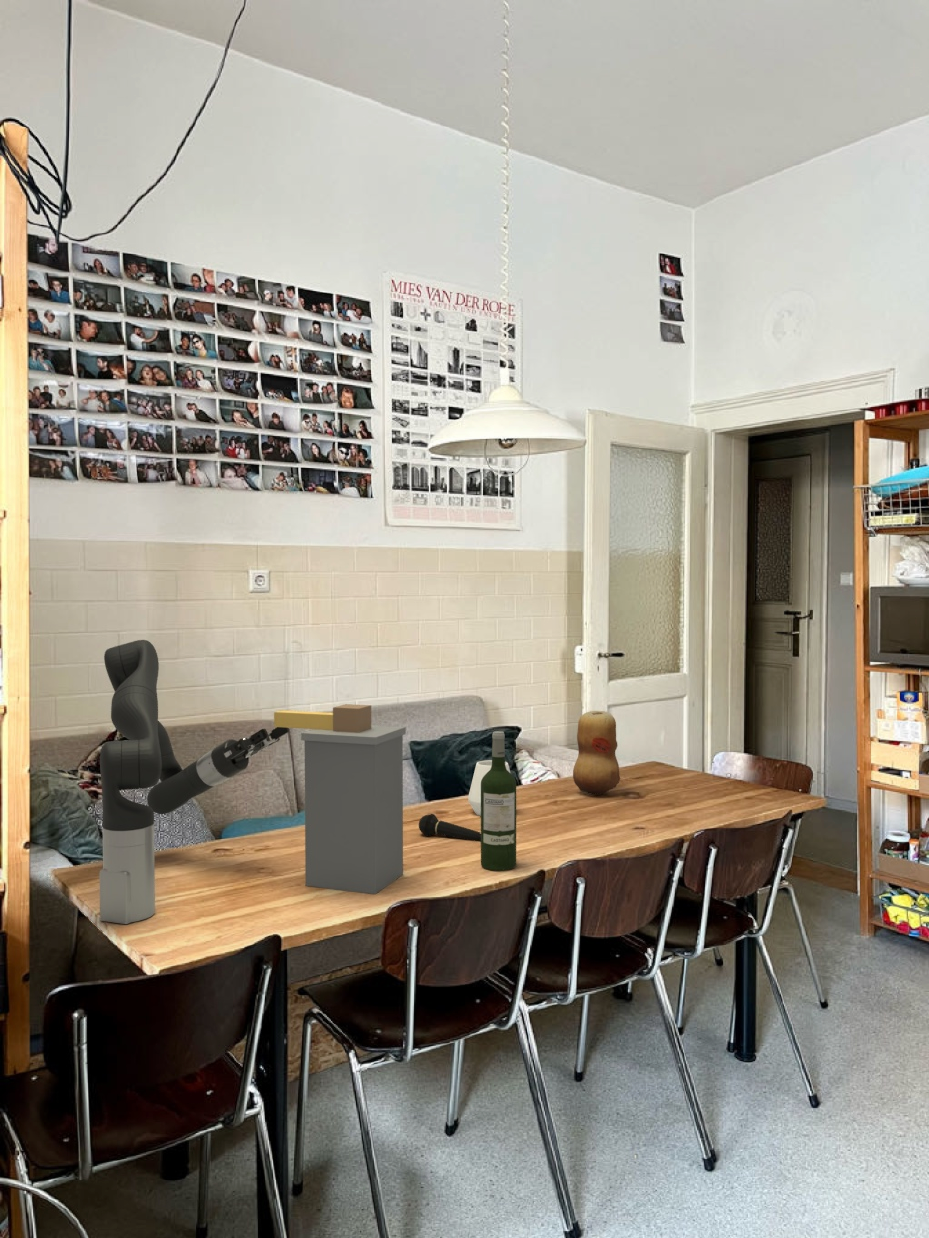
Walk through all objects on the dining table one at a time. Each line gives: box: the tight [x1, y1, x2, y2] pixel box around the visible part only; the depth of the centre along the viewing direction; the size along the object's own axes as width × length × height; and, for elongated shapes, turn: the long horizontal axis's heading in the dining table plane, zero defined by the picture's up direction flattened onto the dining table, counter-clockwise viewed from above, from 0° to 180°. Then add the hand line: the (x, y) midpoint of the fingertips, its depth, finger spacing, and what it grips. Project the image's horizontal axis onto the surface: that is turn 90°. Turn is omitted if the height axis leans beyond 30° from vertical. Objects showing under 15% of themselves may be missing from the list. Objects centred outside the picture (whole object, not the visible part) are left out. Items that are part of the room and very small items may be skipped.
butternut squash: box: [572, 710, 621, 796], centre depth 284 cm, size 14×13×25 cm
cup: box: [467, 759, 511, 817], centre depth 261 cm, size 13×13×14 cm
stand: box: [300, 724, 407, 895], centre depth 200 cm, size 17×15×32 cm
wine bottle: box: [480, 730, 517, 872], centre depth 211 cm, size 8×8×30 cm
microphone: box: [418, 813, 481, 842], centre depth 235 cm, size 6×6×20 cm
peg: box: [273, 703, 372, 733], centre depth 203 cm, size 21×6×5 cm, turn 70°
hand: (277, 729), depth 206 cm, fingers open, 8 cm apart
